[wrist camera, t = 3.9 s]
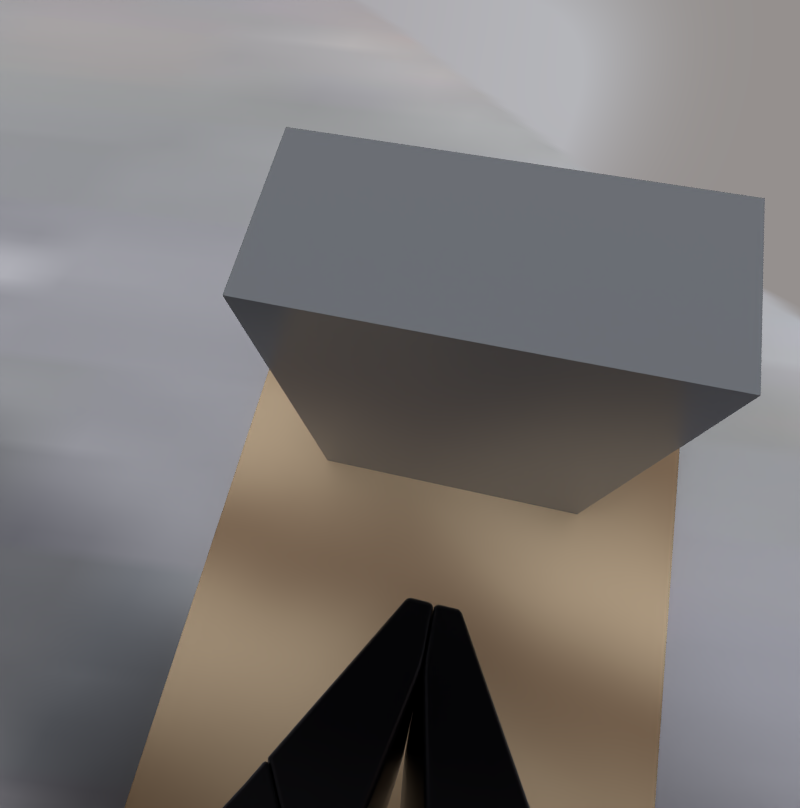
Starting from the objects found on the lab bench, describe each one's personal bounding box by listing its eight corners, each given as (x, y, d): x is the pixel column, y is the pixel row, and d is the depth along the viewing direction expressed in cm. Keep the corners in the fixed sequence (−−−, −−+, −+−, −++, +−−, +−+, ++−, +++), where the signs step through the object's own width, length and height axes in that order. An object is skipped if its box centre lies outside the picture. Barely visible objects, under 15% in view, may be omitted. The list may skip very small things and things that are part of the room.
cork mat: (627, 1094, 12) (633, 1110, 11) (93, 920, 13) (83, 929, 13) (678, 386, 17) (683, 381, 17) (292, 314, 18) (289, 308, 18)
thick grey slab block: (577, 514, 15) (761, 394, 7) (327, 460, 16) (222, 295, 8) (590, 407, 16) (764, 191, 8) (355, 361, 17) (288, 120, 9)
